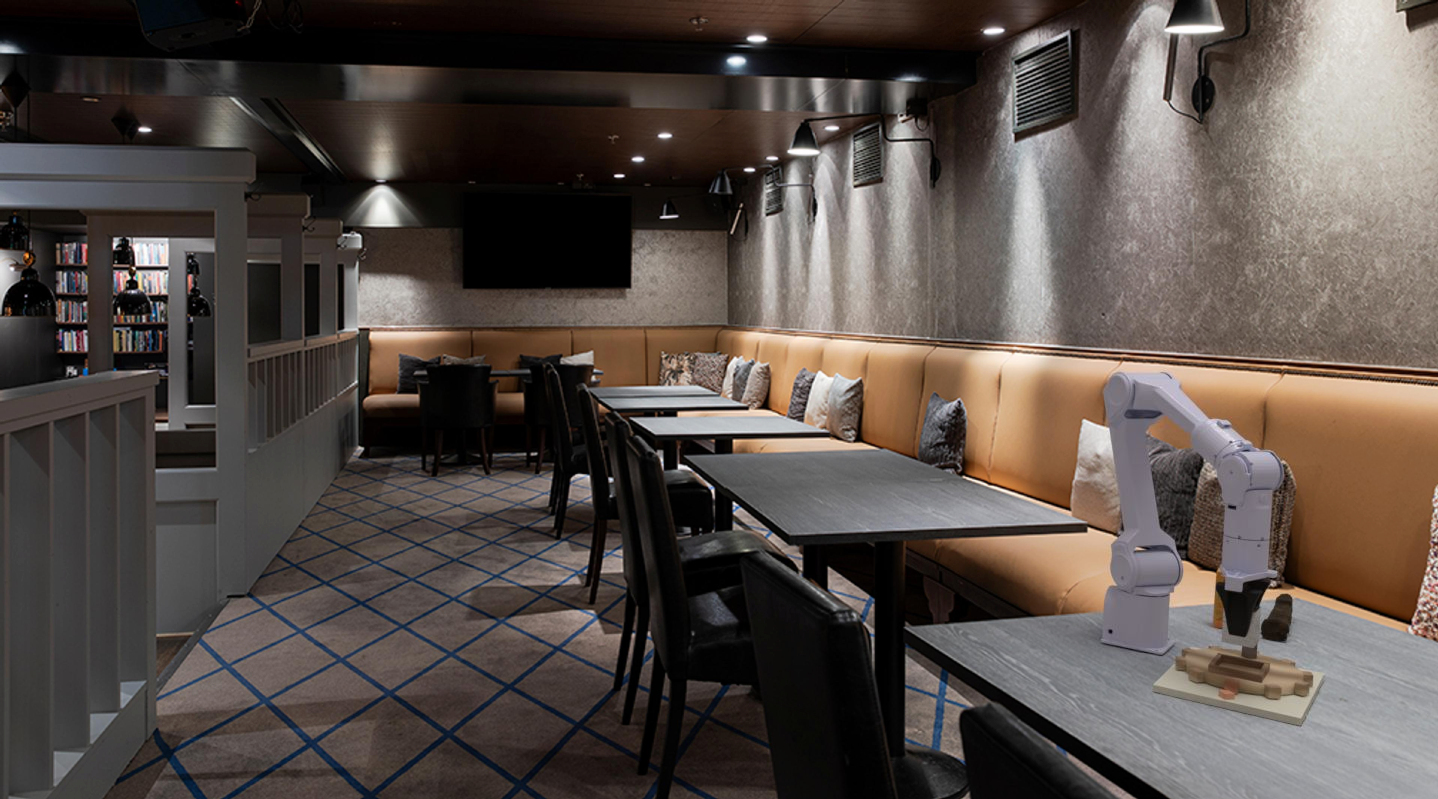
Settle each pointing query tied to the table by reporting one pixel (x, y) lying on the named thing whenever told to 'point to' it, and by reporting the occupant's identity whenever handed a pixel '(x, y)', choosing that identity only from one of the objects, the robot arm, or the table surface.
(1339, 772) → the table surface
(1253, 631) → the copper-capped metal cube
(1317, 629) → the table surface
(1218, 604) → the supplement box
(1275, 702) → the index plate
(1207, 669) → the sprocket disc
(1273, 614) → the dark brown log
